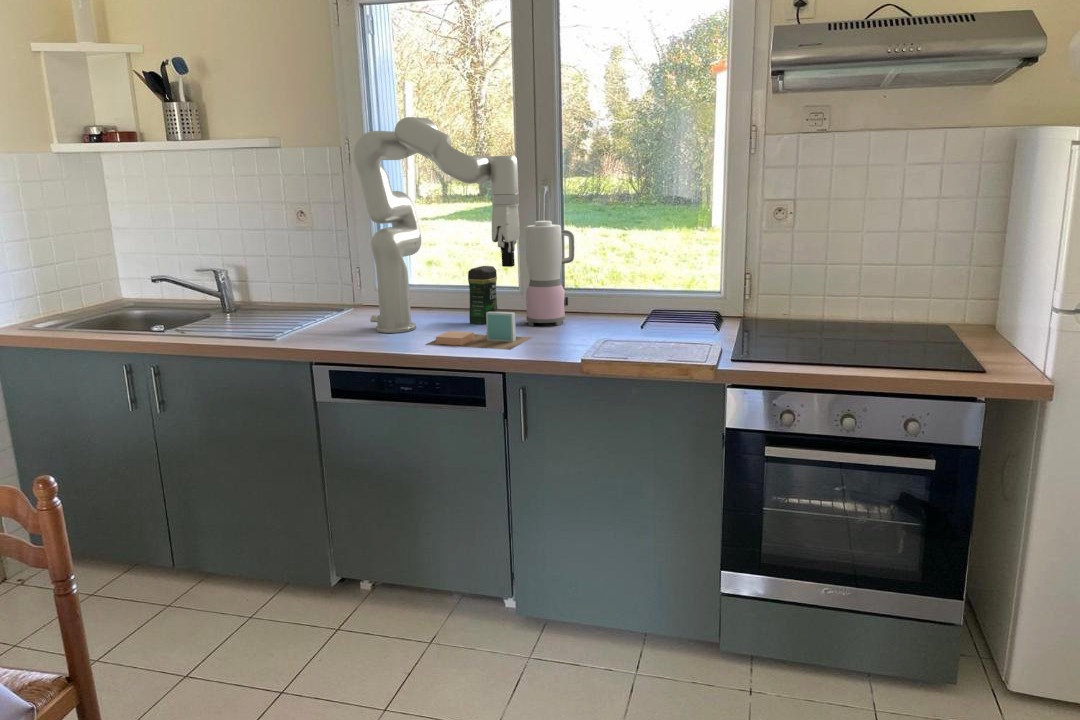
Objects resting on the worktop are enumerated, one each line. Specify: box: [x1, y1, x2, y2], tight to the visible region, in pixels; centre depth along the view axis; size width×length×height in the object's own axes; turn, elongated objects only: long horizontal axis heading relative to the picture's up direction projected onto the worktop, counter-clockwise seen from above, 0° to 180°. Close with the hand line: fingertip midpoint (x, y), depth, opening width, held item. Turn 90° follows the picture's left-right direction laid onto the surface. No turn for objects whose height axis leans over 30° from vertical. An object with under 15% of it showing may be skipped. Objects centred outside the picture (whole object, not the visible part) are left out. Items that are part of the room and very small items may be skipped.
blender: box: [522, 220, 575, 326], centre depth 256 cm, size 16×12×32 cm
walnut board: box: [425, 333, 533, 350], centre depth 232 cm, size 26×16×1 cm, turn 69°
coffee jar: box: [467, 265, 499, 326], centre depth 258 cm, size 10×8×19 cm
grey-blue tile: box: [486, 311, 517, 342], centre depth 230 cm, size 8×2×8 cm, turn 69°
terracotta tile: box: [435, 330, 475, 345], centre depth 231 cm, size 8×2×8 cm
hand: (508, 266), depth 233 cm, fingers closed
